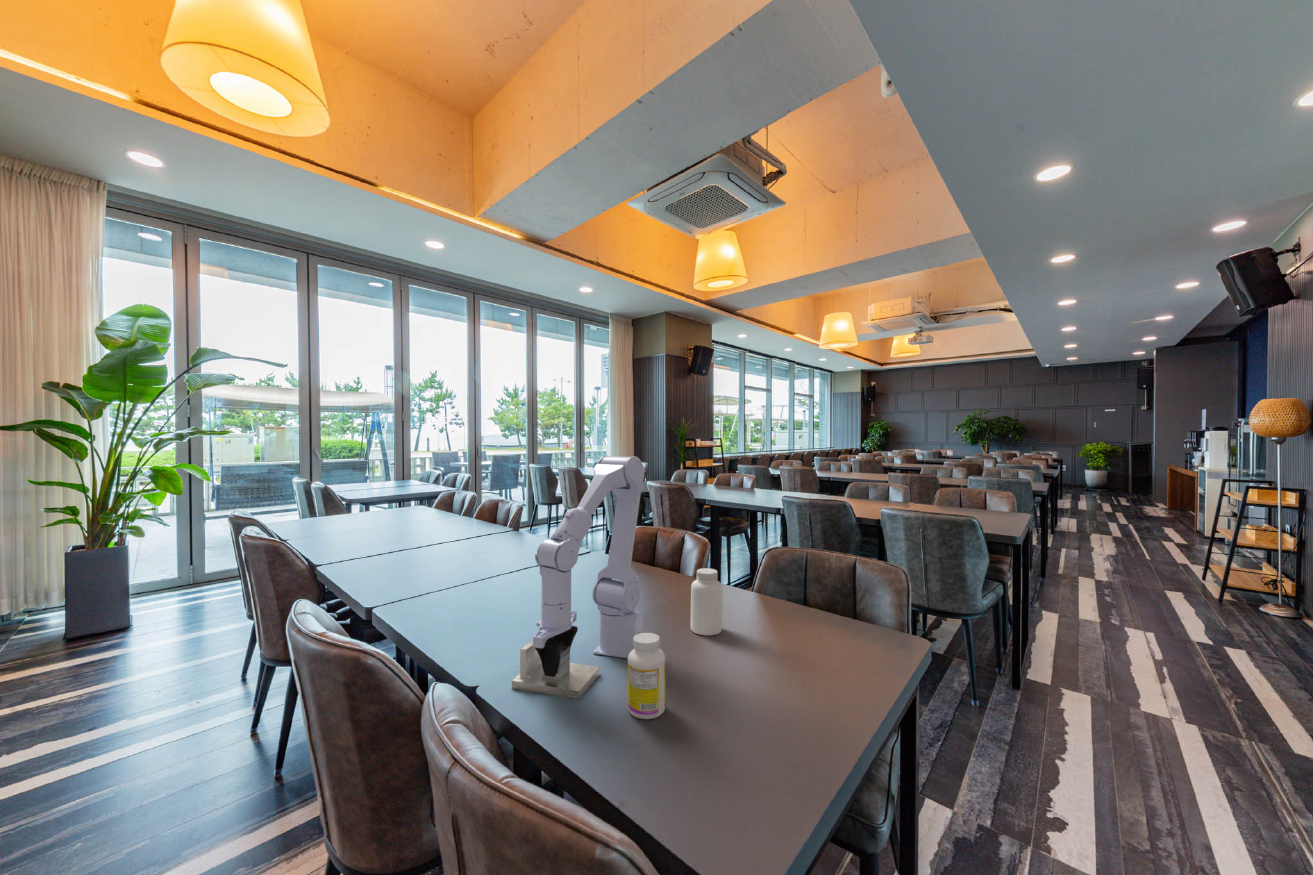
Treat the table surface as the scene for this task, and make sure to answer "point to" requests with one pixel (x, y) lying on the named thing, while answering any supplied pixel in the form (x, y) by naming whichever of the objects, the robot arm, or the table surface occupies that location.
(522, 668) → the stand frame
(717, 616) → the pill bottle
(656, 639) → the supplement bottle
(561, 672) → the grey stacked block
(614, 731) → the table surface
